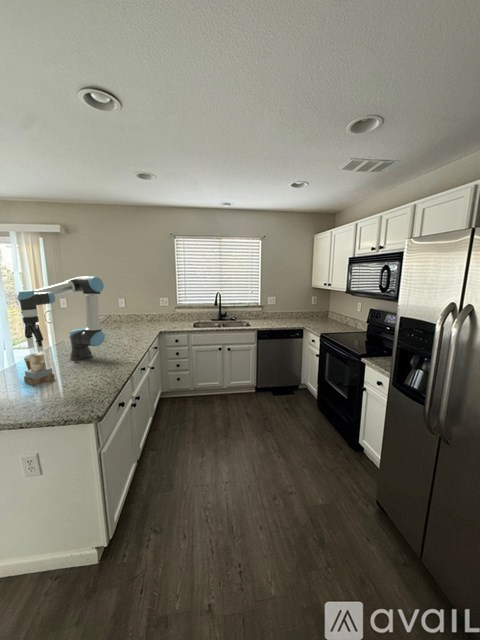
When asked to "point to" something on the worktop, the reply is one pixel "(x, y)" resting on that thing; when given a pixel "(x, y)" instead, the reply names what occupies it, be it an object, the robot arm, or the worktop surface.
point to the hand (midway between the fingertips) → (35, 349)
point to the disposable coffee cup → (27, 362)
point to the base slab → (39, 380)
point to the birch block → (37, 362)
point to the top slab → (38, 373)
